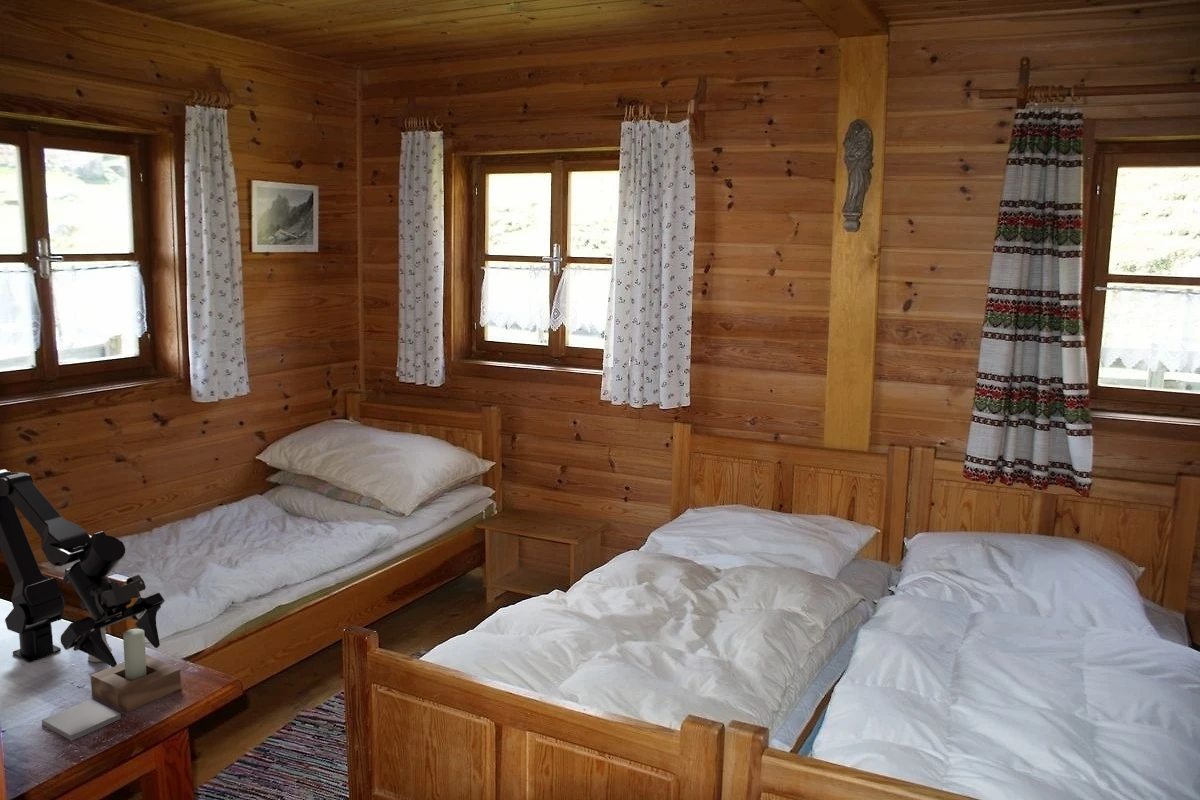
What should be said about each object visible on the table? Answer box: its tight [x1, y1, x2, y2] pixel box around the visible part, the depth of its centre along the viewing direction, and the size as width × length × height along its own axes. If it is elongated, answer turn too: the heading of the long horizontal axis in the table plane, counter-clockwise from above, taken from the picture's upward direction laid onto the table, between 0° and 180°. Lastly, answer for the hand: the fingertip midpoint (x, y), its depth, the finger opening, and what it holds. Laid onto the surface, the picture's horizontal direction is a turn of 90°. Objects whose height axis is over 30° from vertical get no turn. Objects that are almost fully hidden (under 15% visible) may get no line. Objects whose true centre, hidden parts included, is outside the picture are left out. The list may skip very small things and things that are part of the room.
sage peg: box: [122, 628, 147, 682], centre depth 182 cm, size 4×4×12 cm
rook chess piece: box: [87, 627, 113, 664], centre depth 194 cm, size 4×4×8 cm
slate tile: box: [41, 698, 122, 742], centre depth 171 cm, size 9×9×1 cm
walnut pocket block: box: [90, 654, 182, 713], centre depth 182 cm, size 11×11×4 cm
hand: (137, 656), depth 181 cm, fingers open, 9 cm apart
